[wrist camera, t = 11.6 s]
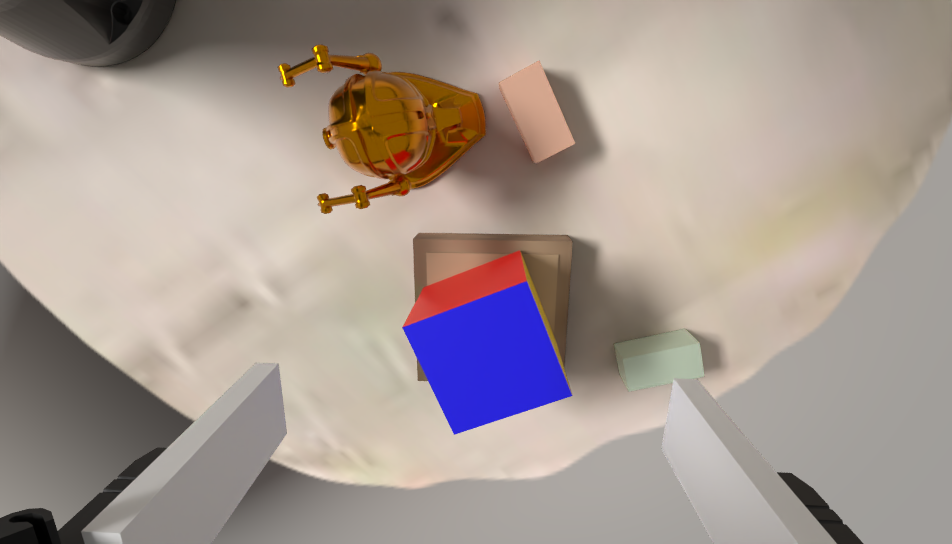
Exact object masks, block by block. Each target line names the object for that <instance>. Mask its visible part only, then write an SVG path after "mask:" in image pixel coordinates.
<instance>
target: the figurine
mask: <svg viewBox="0 0 952 544" xmlns="http://www.w3.org/2000/svg"><path fill="white" fill-rule="evenodd" d="M312 52H313V54H314V57H312V58H310V59H308V60H306V61H304V62H302V63H300V64H298V65H296V66H294V67H290V65H288V64H286V63H283V64H280V66H278V70H279V72H280V74H281V77H280V80H283V81H282V83H283V86H285V87H287V88H290V87H293V86H294V85H295V80H294V79H293V78H295V77H296V76H299V75H301V74H303V73H305V72H308V71H310V70H312V69H314V68H316V67H317V70H318V72H321V73H329V72H331V70H333V66H336V67H341V68H347V69H352V70H357V71H360V73H363V74H364V75H365V76H362V75H360V74H354V75H352V76H350V77H349V78H348V79H347V80H346V81H345V83H344V84H343V85H342V86H341V87H339V88H338V89H337V90H336V91H335V92H334V94H333V95H332V97H331V99H330V101H329V107H328V112H329V124H330V125H328V126H327V127H326V128H324V129H323V132H322V133H323V139H324V142H325V144H326V146H327V147H328V148H329V149H334V148H335V147H337V150H338V152H339V154H340V155H341V157H342V159H343V160H344V162H345V163H346V164H347V165H348V166H349V167H350V168H352V169H353V170H355V171H357V172H359V173H361V174H364V175H367V176H370V177H375V178H379V179H389V180H390V181H389V182H388V183H387V184H384V185H381V186H378V187H375V188H373V189H370V190H367V191H366V187H365V186H362V185H359V186H355V187H353V188H352V189H351V192H352V193H353V194H350V195H345V196H340V197H335V198H329V196H328V194H326V193H323V194H319V195H318V196H317V199H318V201H319V203H318V206H320V207H321V213H324V214H327V213H331V211H332V210H333V209H332V207H333V206H338V205H344V204H350V203H356V204H355V206H356V208H359V209H363V208H367V207H368V206H369V205H370V202H369V201H368V200H369V199H374V198H379V197H384V196H388V195H392V196H393V195H397V196H405V195H407V194H408V193H409V192H410V190H411V189H413V188H418V187H421V186H424V185H426V184H428V183H430V182H431V181H433V180H434V179H436V178H437V177H439V176H440V175H441V174H443V173H444V172H445V171H446V170H447V169H449V168H450V167H451V166H452V165H453V164H454V163H456V162H457V161H458V160H459V159H460V158H461V157H462V156H463V155H464V154H465V153H466V152H467V151H468V150H470V149H471V148H472V147H473V146H474V145H475V144H476V143H477V142H478V141H479V140H481V139H482V138H483V137H484V136H485V135H486V119H485V113H484V109H483V106H482V103H481V100H480V98H479V95H478V94H477V93H474V92H470V91H467V90H463V89H460V88H458V87H455V86H452V85H449V84H446V83H443V82H440V81H437V80H434V79H431V78H428V77H424V76H420V75H416V74H411V73H405V72H391V73H386V72H381V69H382V64H381V61H380V59H379V57H378V56H377V55H375V54H373V53H366V54H364V55H358V56H342V55H329V54H328V52H329V50H328V47H327V46H324V45H316V46H314V48H312Z"/></svg>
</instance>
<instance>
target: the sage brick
mask: <svg viewBox="0 0 952 544" xmlns="http://www.w3.org/2000/svg"><path fill="white" fill-rule="evenodd" d="M614 349H615V354H616V359H617V364H618V369H619V374H620V376H621V378H622V380H623V382H624V384H625V386H626V387H627V389H628V391H629V392H630V391H635V390H640V389H645V388H650V387H655V386H660V385H665V384H670V383H673V380H674V378H679V379H695V378H700V377H704V369H703V362H702V355H701V348H700V343H699V342H698V341H697V340H696V339H695V338H694V337H693V336H692V335H691V334H690V333H689V332H688V331H687V330H686V329H681V330H676V331H672V332H667V333H662V334H657V335H653V336H648V337H643V338H639V339H634V340H629V341H624V342H620V343H615V344H614Z"/></svg>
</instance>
